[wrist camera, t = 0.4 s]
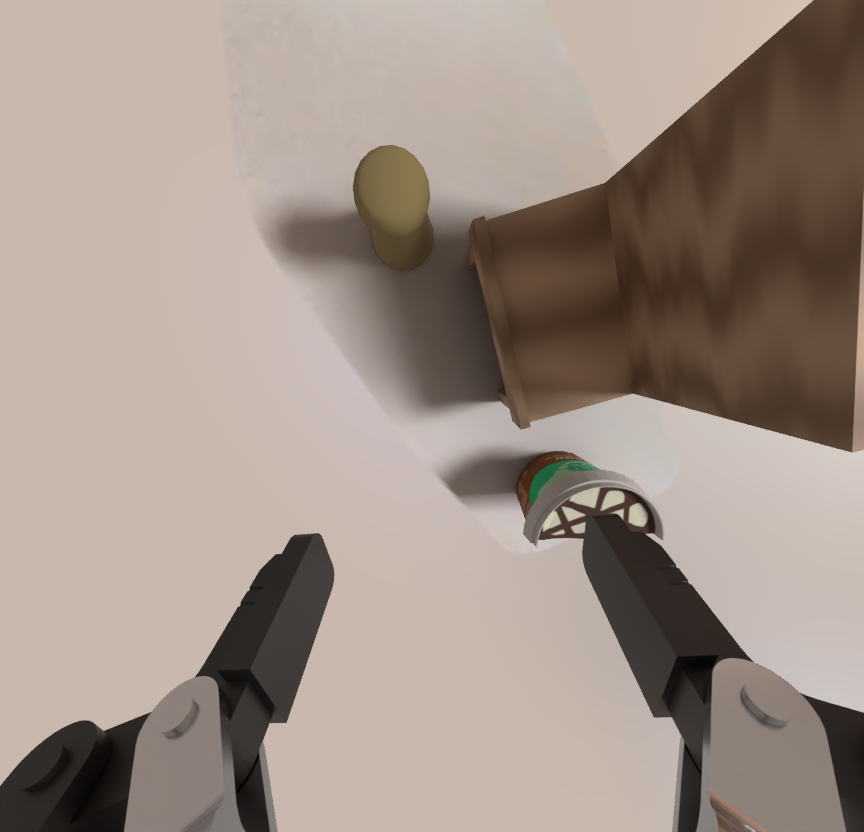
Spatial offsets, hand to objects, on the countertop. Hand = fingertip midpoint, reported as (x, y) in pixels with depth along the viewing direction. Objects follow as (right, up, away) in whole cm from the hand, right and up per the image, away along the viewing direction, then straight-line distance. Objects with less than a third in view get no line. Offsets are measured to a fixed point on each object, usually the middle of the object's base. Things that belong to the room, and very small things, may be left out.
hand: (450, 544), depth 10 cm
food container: (+14, -2, +27) cm, 31 cm away
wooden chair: (+9, +14, +23) cm, 28 cm away
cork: (-3, +21, +21) cm, 30 cm away
